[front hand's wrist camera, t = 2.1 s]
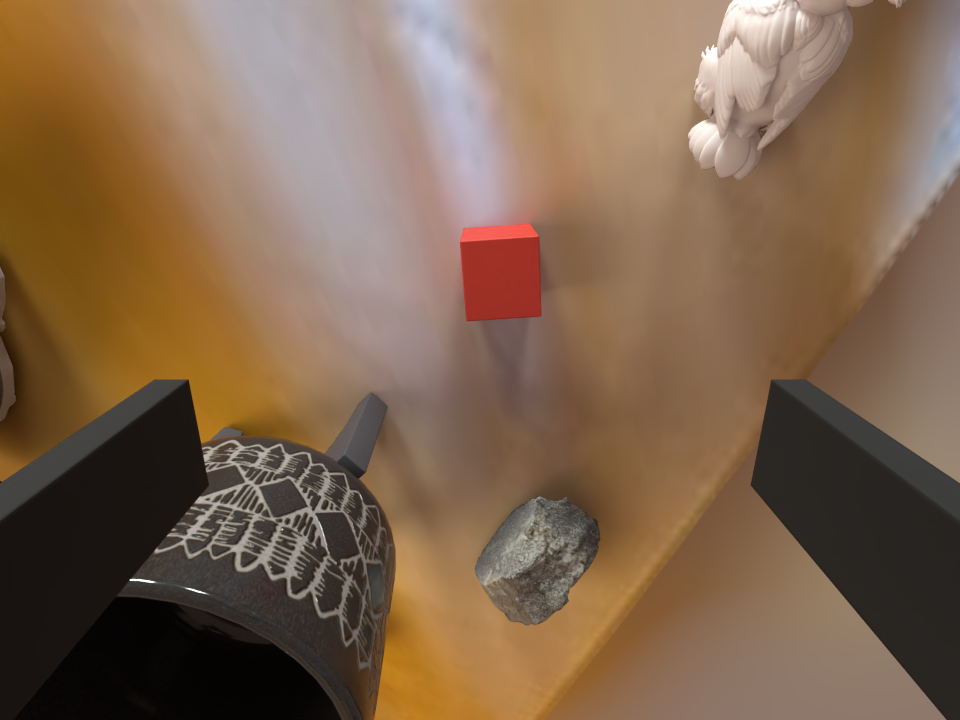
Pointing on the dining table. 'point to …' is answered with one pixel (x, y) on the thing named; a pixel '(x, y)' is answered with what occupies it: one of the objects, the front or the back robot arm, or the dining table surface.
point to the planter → (249, 596)
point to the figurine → (765, 75)
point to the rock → (537, 558)
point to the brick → (501, 272)
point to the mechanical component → (5, 362)
